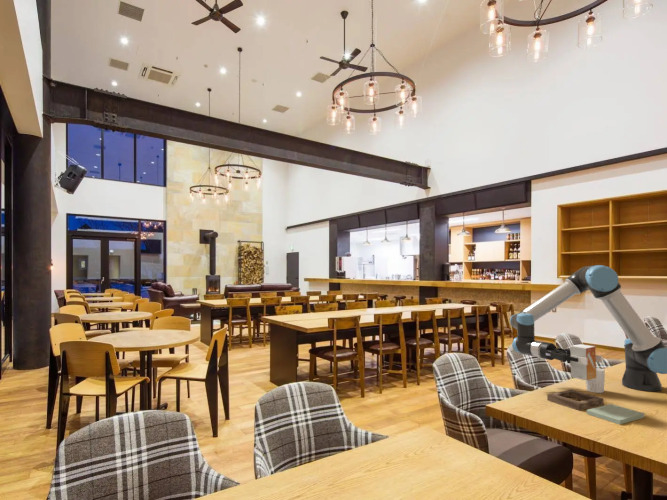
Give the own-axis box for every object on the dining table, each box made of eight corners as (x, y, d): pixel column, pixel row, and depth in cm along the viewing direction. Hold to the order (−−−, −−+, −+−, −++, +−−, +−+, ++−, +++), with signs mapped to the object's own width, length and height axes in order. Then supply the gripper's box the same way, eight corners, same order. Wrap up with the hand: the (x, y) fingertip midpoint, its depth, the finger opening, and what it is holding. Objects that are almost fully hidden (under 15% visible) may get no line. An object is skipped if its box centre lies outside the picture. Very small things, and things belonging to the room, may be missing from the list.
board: (611, 407, 161) (610, 403, 161) (644, 417, 150) (644, 413, 150) (586, 413, 154) (586, 409, 154) (619, 424, 143) (619, 420, 143)
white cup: (605, 390, 184) (604, 368, 185) (605, 394, 178) (605, 372, 178) (585, 387, 189) (584, 366, 189) (585, 391, 182) (584, 369, 182)
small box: (587, 380, 158) (585, 348, 159) (570, 377, 164) (569, 345, 164) (597, 377, 162) (595, 346, 163) (580, 374, 168) (579, 343, 169)
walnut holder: (571, 395, 177) (570, 389, 177) (603, 404, 165) (603, 398, 165) (547, 400, 170) (547, 394, 170) (579, 410, 158) (579, 404, 158)
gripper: (560, 356, 184) (611, 366, 163) (528, 360, 175) (577, 372, 155) (559, 340, 184) (610, 348, 164) (527, 344, 176) (576, 353, 155)
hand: (594, 360), depth 159 cm, fingers closed on small box, 9 cm apart
